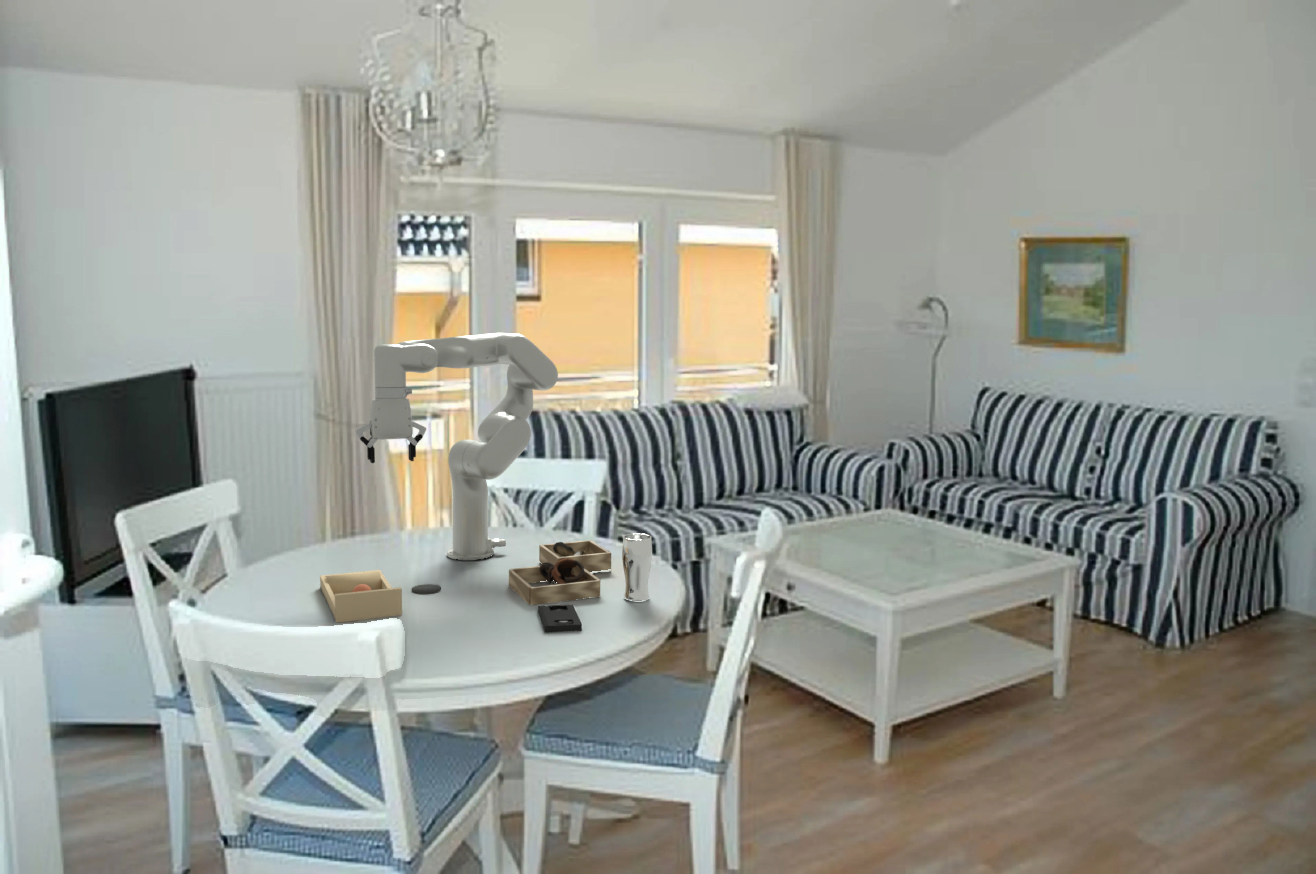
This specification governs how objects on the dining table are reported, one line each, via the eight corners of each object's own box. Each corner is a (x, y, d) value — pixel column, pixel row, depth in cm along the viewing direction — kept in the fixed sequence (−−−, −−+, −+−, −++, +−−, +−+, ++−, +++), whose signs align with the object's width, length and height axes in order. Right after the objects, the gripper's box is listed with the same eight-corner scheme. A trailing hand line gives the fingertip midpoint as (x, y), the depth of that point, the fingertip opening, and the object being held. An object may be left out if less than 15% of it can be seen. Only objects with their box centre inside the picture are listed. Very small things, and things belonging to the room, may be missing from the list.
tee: (437, 584, 244) (437, 582, 244) (444, 592, 238) (444, 590, 238) (408, 587, 241) (408, 586, 241) (414, 595, 235) (414, 593, 235)
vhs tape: (581, 633, 213) (582, 624, 212) (544, 635, 211) (544, 626, 211) (572, 612, 226) (572, 604, 226) (537, 614, 225) (537, 605, 224)
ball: (373, 606, 226) (370, 595, 230) (374, 590, 224) (370, 579, 228) (353, 608, 224) (350, 597, 228) (353, 592, 223) (350, 581, 226)
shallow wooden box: (575, 577, 252) (575, 562, 252) (601, 597, 237) (601, 580, 236) (507, 585, 245) (507, 569, 244) (530, 605, 229) (530, 588, 229)
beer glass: (629, 604, 231) (630, 541, 229) (616, 596, 237) (617, 534, 235) (656, 600, 234) (657, 538, 232) (643, 593, 240) (644, 532, 238)
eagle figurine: (585, 559, 266) (552, 552, 266) (588, 541, 262) (554, 534, 262) (579, 580, 261) (545, 573, 261) (582, 562, 256) (547, 555, 256)
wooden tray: (590, 558, 272) (590, 540, 271) (611, 571, 258) (611, 552, 258) (539, 563, 265) (539, 544, 265) (557, 577, 252) (557, 558, 252)
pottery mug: (588, 584, 249) (592, 561, 244) (576, 610, 241) (580, 587, 236) (543, 569, 250) (546, 546, 245) (529, 595, 242) (532, 571, 237)
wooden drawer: (380, 597, 246) (379, 558, 245) (402, 632, 221) (401, 588, 220) (320, 603, 240) (319, 563, 239) (336, 640, 215) (335, 595, 214)
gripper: (422, 391, 257) (423, 457, 259) (352, 393, 249) (354, 461, 252) (428, 394, 250) (429, 462, 252) (357, 396, 243) (358, 465, 245)
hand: (391, 461), depth 252 cm, fingers open, 9 cm apart
